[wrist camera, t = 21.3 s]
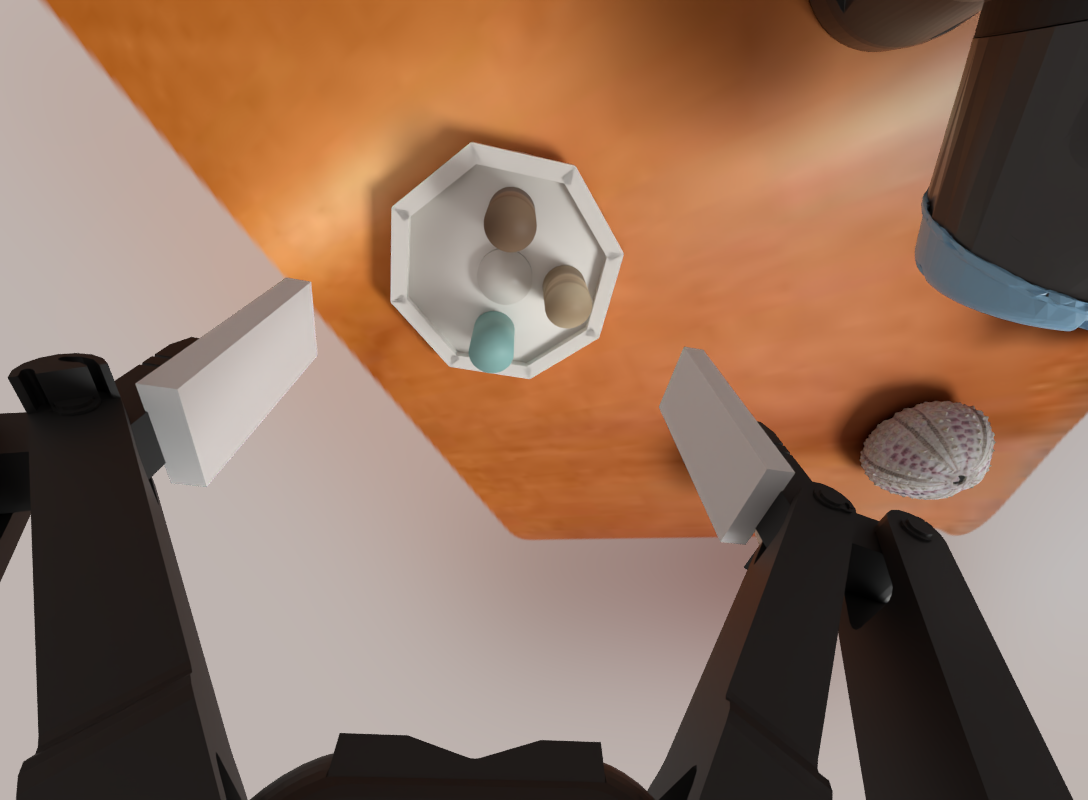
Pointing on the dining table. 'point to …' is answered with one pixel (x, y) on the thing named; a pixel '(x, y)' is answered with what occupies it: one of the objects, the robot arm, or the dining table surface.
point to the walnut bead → (510, 220)
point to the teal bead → (492, 342)
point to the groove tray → (498, 256)
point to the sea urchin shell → (929, 450)
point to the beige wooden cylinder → (566, 297)
